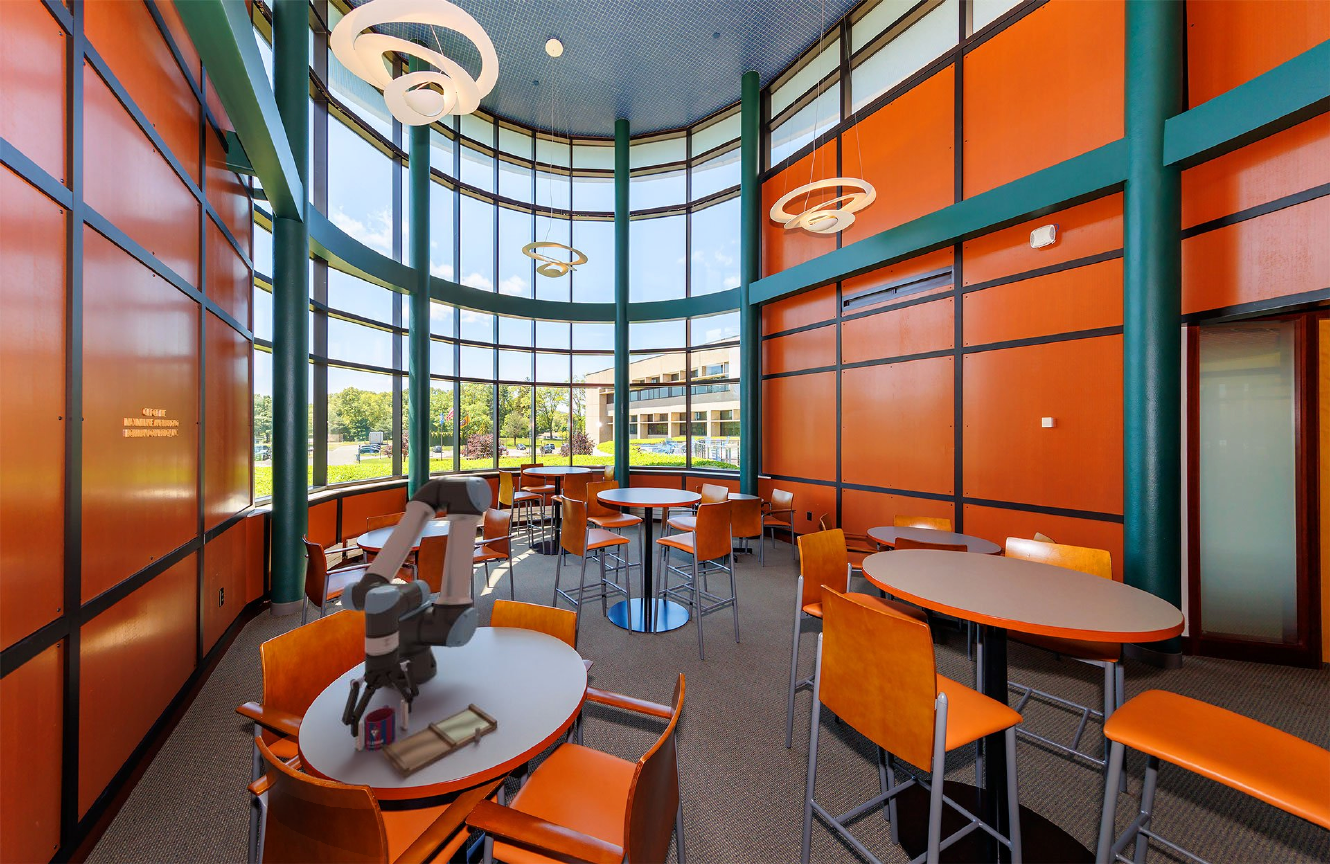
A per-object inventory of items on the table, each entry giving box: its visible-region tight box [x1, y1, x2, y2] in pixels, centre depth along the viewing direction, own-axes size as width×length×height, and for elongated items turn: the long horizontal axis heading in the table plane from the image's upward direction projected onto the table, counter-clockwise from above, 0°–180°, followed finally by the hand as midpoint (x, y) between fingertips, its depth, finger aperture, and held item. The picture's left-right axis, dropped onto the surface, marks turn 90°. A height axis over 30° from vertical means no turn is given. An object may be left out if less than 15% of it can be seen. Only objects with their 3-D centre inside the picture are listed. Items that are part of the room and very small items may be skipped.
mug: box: [363, 704, 396, 752], centre depth 119 cm, size 7×10×7 cm
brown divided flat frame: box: [381, 703, 498, 778], centre depth 117 cm, size 15×23×3 cm, turn 141°
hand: (382, 736), depth 119 cm, fingers open, 10 cm apart
